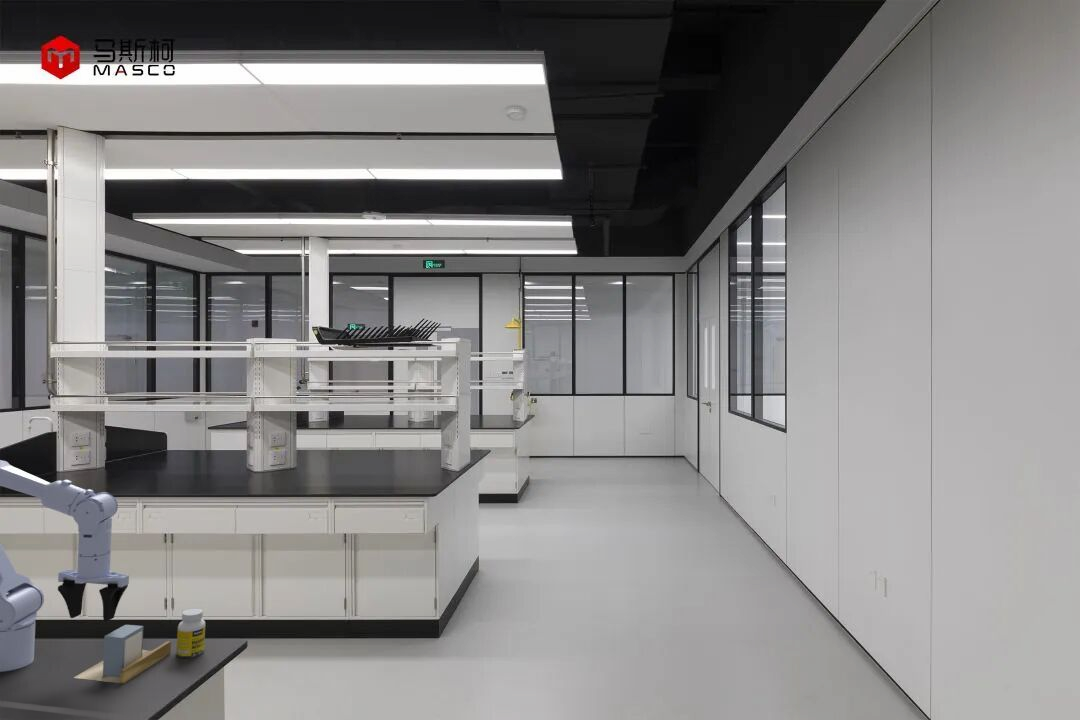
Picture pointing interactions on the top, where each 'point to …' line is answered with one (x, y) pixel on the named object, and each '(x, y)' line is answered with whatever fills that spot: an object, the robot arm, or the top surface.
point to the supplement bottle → (191, 634)
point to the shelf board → (130, 670)
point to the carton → (122, 649)
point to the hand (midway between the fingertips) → (92, 617)
